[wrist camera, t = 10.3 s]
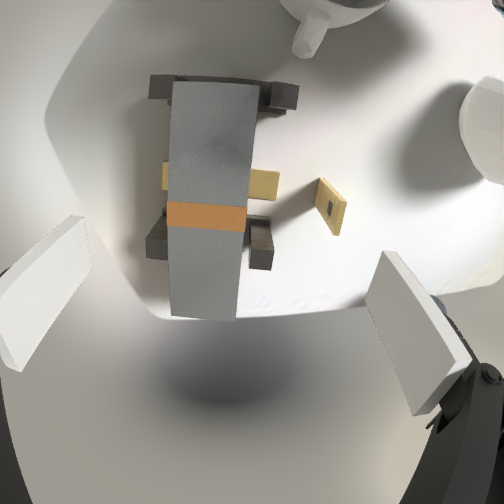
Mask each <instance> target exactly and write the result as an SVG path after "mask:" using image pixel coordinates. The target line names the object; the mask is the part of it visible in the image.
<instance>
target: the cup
mask: <svg viewBox="0 0 504 504" xmlns="http://www.w3.org/2000/svg"><path fill="white" fill-rule="evenodd" d="M458 125H459V131H460V137H461V139H462V141H463V144H464V146H465V148H466V150H467V152H468V154H469V156H470V158H471V160H472V162H473V164H474V166H475V168H476V169H477V170H478V171H479V172H480V173H481V174H482V175H483V176H484V177H485V178H486V179H487V180H488V181H490V182H494V183H497V184H501V185H504V76H487V77H484V78H482V79H481V80H480V81H479V82H478V83H477V84H475V85H474V86H473V87H472V88H471V90H470V91H469V93H468V94H467V95H466V97H465V98H464V100H463V103H462V105H461V107H460V110H459V121H458Z"/></svg>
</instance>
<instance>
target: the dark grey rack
mask: <svg viewBox="0 0 504 504" xmlns="http://www.w3.org/2000/svg"><path fill="white" fill-rule="evenodd" d="M174 81H189V82H218V83H234V84H246V85H256V86H260V90H259V99H258V108H257V111H264V112H271V113H279V114H286V110H296V107H297V100H298V93H299V85H293V84H287V83H280V82H265V81H256V80H247V79H236V78H223V77H206V76H177V75H151V77H150V87H149V98H148V99H159V100H168V104H167V105H172V93H173V82H174ZM279 174H280V172H276V171H268V170H259V169H251V171H250V180H249V190H248V197H250V198H259V199H268V200H276V194H277V188H278V181H279ZM162 190H168V162H163V167H162ZM346 204H347V202H346V201H345V199H344V198H343V197H342V196H341V195H340V194H339V193H338V192H337V191H336V190H335V189H334V188H333V187H332V186H331V185H330V184H329V183H328V182H327V181H326V180H325V179H324V178H319V183H318V188H317V194H316V199H315V204H314V205H315V206H316V208H317V209H318V211H319V213H320V214H321V216H322V217H323V219H324V221H325V222H326V224H327V225H328V227H329V229H330V230H331V232H332V234H333V235H337V236H339V233H340V229H341V225H342V221H343V217H344V212H345V208H346ZM270 221H271V220H270V217H267V216H258V215H248V214H247V215H246V225H245V232H244V238H243V244H249V269H259V270H270V271H271V268H272V262H273V256H274V246H273V240H272V234H271V228H270ZM146 257H147V258H151V259H160V260H168V226H167V207H164V209H163V215H162V216H161V217H160V219H159V220H158V221H157V223H156V224H155V226H154V227H153V228H152V230H151V231H150V233H149V234H148V235H147V237H146Z"/></svg>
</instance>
